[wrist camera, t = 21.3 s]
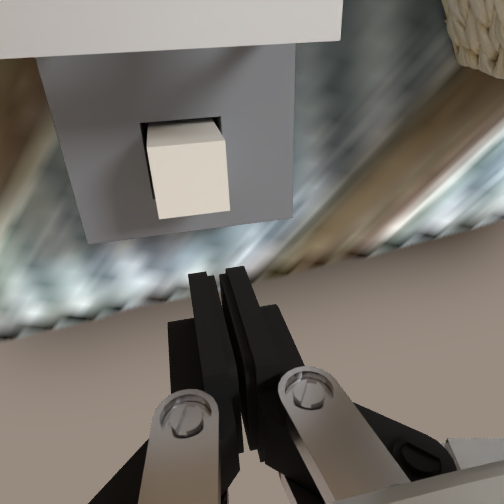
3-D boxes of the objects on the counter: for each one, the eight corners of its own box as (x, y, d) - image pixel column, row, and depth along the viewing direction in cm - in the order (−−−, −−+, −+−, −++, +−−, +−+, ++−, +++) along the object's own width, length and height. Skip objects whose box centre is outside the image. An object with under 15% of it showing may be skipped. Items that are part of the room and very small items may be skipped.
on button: (148, 118, 26) (146, 147, 20) (208, 113, 26) (225, 140, 21) (157, 177, 28) (159, 219, 22) (214, 171, 29) (230, 210, 23)
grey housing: (-28, -305, 19) (-369, -923, 6) (260, -281, 21) (412, -703, 9) (100, 203, 32) (67, 316, 20) (268, 184, 34) (332, 274, 22)
